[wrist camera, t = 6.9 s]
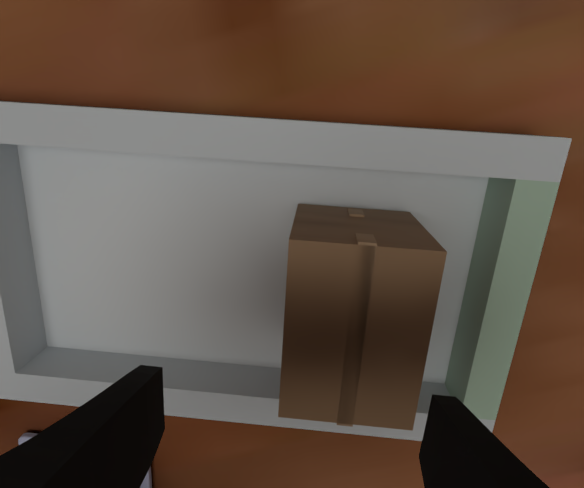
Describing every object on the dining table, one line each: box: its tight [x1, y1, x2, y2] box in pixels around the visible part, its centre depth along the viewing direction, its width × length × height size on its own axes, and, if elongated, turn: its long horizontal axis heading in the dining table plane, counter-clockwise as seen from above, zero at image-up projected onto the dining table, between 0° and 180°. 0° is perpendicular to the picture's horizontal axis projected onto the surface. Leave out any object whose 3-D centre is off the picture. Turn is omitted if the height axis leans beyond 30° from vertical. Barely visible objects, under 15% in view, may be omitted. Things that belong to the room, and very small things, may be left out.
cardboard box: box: [278, 204, 447, 431], centre depth 16 cm, size 7×5×6 cm
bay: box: [0, 101, 572, 441], centre depth 18 cm, size 14×25×3 cm, turn 86°
